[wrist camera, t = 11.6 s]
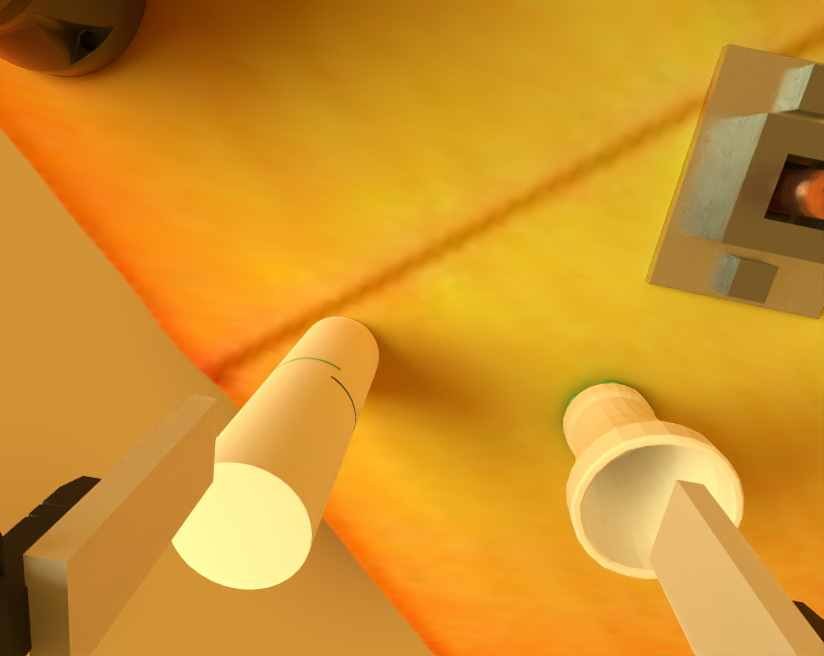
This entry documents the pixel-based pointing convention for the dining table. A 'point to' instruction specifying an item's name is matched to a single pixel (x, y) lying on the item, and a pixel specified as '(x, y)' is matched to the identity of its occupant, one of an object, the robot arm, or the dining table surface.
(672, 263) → the grey socket base
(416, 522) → the dining table surface
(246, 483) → the cylindrical container
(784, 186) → the rounded pin
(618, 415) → the cup
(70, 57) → the robot arm
